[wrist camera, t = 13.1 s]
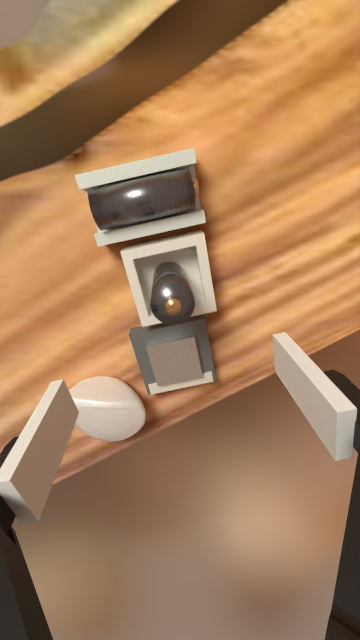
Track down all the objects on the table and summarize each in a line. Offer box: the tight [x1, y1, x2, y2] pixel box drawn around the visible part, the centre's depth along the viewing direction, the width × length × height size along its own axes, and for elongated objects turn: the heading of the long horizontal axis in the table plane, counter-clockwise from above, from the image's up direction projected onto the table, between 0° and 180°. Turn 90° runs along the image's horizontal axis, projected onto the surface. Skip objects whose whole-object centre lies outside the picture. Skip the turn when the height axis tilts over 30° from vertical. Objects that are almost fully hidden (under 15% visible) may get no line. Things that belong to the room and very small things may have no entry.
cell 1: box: [88, 167, 200, 231], centre depth 31 cm, size 12×4×4 cm, turn 102°
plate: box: [146, 334, 203, 386], centre depth 40 cm, size 7×7×1 cm
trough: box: [75, 148, 206, 247], centre depth 32 cm, size 13×8×3 cm, turn 102°
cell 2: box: [150, 262, 195, 325], centre depth 32 cm, size 4×4×12 cm
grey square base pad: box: [129, 314, 216, 395], centre depth 42 cm, size 11×11×2 cm
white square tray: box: [120, 230, 217, 327], centre depth 36 cm, size 10×10×4 cm
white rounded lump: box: [69, 376, 146, 442], centre depth 42 cm, size 10×11×12 cm
